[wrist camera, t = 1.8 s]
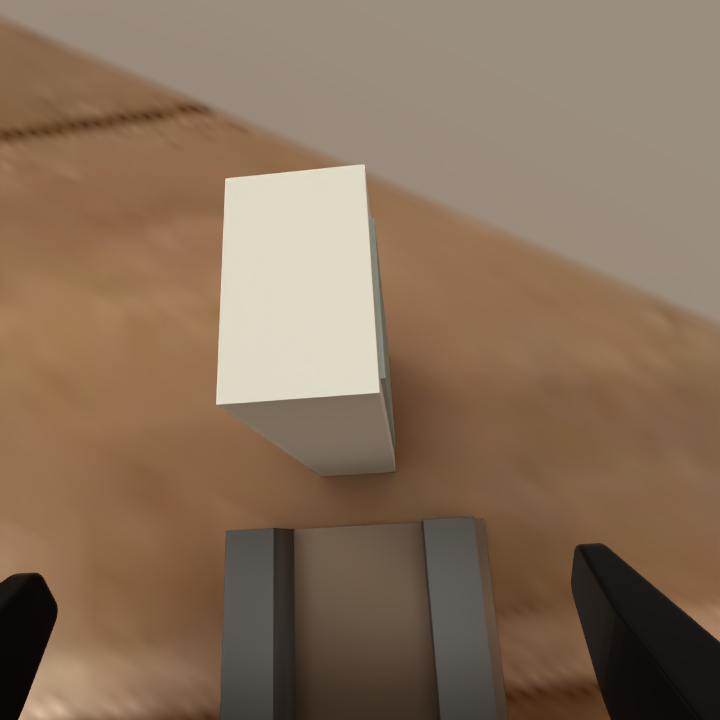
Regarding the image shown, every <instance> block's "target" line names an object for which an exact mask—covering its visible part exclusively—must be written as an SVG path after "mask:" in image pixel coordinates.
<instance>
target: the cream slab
mask: <svg viewBox="0 0 720 720" xmlns="http://www.w3.org/2000/svg"><path fill="white" fill-rule="evenodd" d="M216 405H217V406H219V407H220V408H222V409H223V410H225V411H226V412H228V413H229V414H231V415H232V416H233V417H235V418H236V419H238V420H239V421H241V422H242V423H244V424H245V425H247V426H248V427H249V428H251V429H252V430H254V431H255V432H257V433H258V434H260V435H261V436H263V437H264V438H266V439H267V440H268V441H270V442H271V443H273V444H274V445H276V446H277V447H279V448H280V449H282V450H283V451H284V452H286V453H287V454H289V455H290V456H292V457H293V458H295V459H296V460H298V461H299V462H301V463H302V464H303V465H305V466H306V467H308V468H309V469H311V470H312V471H314V472H315V473H317V474H318V475H319V476H321V477H324V476H339V475H355V474H371V473H387V472H396V469H395V456H394V448H396V444H395V430H394V417H393V403H392V390H391V376H390V363H389V350H388V341H387V331H386V322H385V313H384V304H383V295H382V285H381V276H380V267H379V258H378V249H377V240H376V230H375V221H374V218H373V219H371V215H370V207H369V198H368V190H367V182H366V173H365V165H364V164H362V165H352V166H343V167H333V168H324V169H314V170H304V171H295V172H285V173H275V174H266V175H256V176H246V177H237V178H227V179H225V204H224V228H223V253H222V277H221V301H220V326H219V350H218V374H217V399H216Z"/></svg>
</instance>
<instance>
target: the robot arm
mask: <svg viewBox="0 0 720 720" xmlns="http://www.w3.org/2000/svg"><path fill="white" fill-rule="evenodd" d="M571 587H572V593H573V597H574V601H575V604H576V608H577V611H578V615H579V618H580V622H581V625H582V629H583V632H584V636H585V639H586V643H587V646H588V650H589V653H590V657H591V660H592V664H593V667H594V671H595V674H596V678H597V681H598V684H599V687H600V691H601V694H602V697H603V700H604V702H605V705H606V708H607V710H608V713H609V716H610V718H611V720H720V642H719V641H718V640H717V639H716V638H714V637H713V636H712V635H711V634H710V633H709V632H707V631H706V630H705V629H704V628H703V627H701V626H700V625H699V624H698V623H697V622H696V621H694V620H693V619H692V618H691V617H690V616H688V615H687V614H686V613H685V612H684V611H683V610H681V609H680V608H679V607H678V606H677V605H675V604H674V603H673V602H672V601H671V600H670V599H668V598H667V597H666V596H665V595H664V594H662V593H661V592H660V591H659V590H658V589H657V588H655V587H654V586H653V585H652V584H651V583H649V582H648V581H647V580H646V579H645V578H644V577H642V576H641V575H640V574H639V573H638V572H636V571H635V570H634V569H633V568H632V567H631V566H629V565H628V564H627V563H626V562H625V561H623V560H622V559H621V558H620V557H619V556H618V555H616V554H615V553H614V552H613V551H612V550H610V549H609V548H608V547H607V546H605V545H603V544H600V543H595V544H580V545H577V546H576V548H575V551H574V559H573V568H572V577H571ZM57 613H58V608H57V603H56V601H55V599H54V597H53V595H52V593H51V591H50V590H49V588H48V586H47V584H46V582H45V580H44V578H43V577H42V576H41V575H40V574H38V573H19V574H14V575H12V576H10V577H8V578H7V579H5V580H4V581H2V582H1V583H0V720H18V719H19V716H20V714H21V712H22V709H23V707H24V704H25V702H26V699H27V697H28V694H29V691H30V689H31V686H32V683H33V681H34V678H35V675H36V673H37V670H38V667H39V665H40V662H41V659H42V656H43V654H44V651H45V648H46V646H47V643H48V640H49V638H50V635H51V632H52V630H53V627H54V624H55V622H56V618H57Z"/></svg>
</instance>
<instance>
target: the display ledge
mask: <svg viewBox="0 0 720 720" xmlns="http://www.w3.org/2000/svg"><path fill="white" fill-rule="evenodd" d="M220 720H508V712H507V704H506V696H505V688H504V679H503V671H502V663H501V655H500V647H499V639H498V631H497V623H496V615H495V607H494V599H493V591H492V583H491V575H490V567H489V559H488V551H487V543H486V535H485V527H484V519H474V517H460V518H443V519H425V520H423V521H422V522H415V523H398V524H380V525H362V526H344V527H327V528H309V529H280V528H266V529H248V530H231V531H226V546H225V577H224V609H223V640H222V671H221V703H220Z"/></svg>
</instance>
